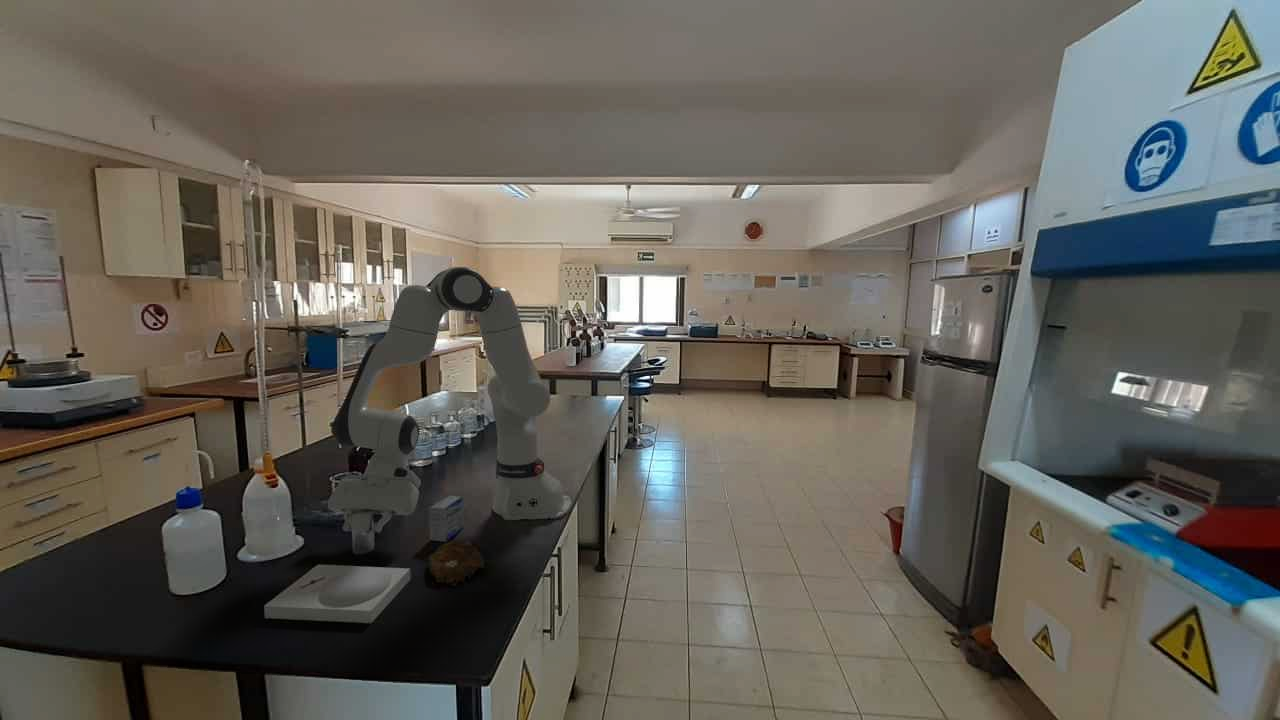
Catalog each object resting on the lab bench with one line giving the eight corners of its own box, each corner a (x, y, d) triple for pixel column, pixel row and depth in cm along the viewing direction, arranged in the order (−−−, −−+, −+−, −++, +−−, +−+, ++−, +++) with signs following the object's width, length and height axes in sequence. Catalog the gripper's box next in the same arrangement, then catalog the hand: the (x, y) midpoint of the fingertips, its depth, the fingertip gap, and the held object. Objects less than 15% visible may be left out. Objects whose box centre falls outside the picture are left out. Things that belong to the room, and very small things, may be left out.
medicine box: (445, 542, 116) (444, 509, 115) (429, 540, 117) (428, 507, 116) (463, 528, 124) (463, 496, 123) (448, 526, 125) (447, 494, 124)
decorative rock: (422, 560, 109) (435, 596, 97) (421, 543, 109) (434, 578, 96) (473, 545, 115) (491, 577, 103) (472, 529, 115) (490, 559, 102)
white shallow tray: (410, 579, 100) (410, 565, 100) (371, 623, 87) (370, 607, 86) (318, 575, 101) (317, 561, 101) (264, 617, 87) (263, 602, 87)
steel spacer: (378, 545, 114) (376, 509, 113) (367, 554, 110) (365, 517, 109) (360, 544, 114) (358, 508, 113) (348, 553, 110) (347, 517, 109)
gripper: (337, 468, 117) (310, 524, 109) (418, 471, 117) (398, 528, 108) (349, 479, 122) (324, 533, 114) (427, 482, 122) (408, 537, 113)
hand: (361, 530), depth 111 cm, fingers open, 5 cm apart
